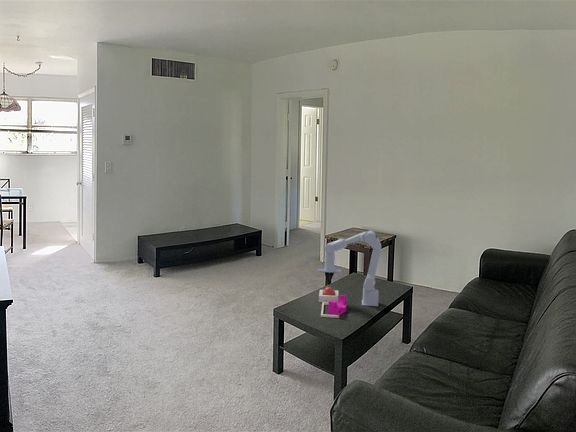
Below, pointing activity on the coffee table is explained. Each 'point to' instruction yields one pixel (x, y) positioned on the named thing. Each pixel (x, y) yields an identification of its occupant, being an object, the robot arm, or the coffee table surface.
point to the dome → (328, 291)
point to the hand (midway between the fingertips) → (329, 284)
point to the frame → (326, 314)
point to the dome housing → (328, 297)
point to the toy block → (337, 306)
